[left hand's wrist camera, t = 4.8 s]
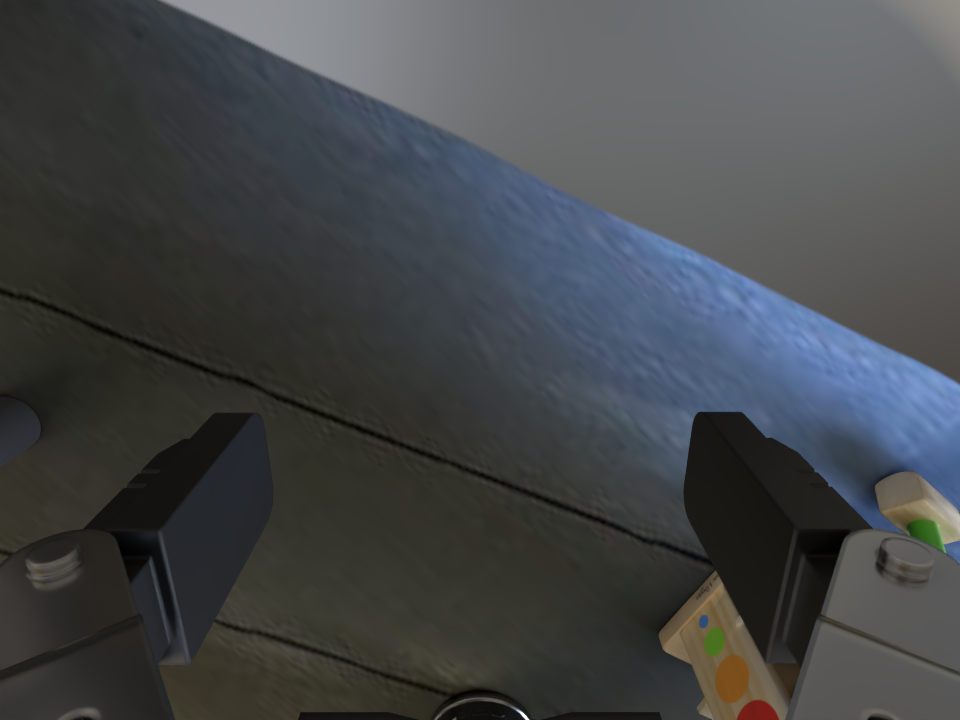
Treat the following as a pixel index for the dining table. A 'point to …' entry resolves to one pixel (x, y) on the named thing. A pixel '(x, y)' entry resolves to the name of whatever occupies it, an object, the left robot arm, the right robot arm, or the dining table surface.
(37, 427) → the bottle
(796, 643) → the left robot arm
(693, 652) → the pounding bench toy
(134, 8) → the dining table surface
